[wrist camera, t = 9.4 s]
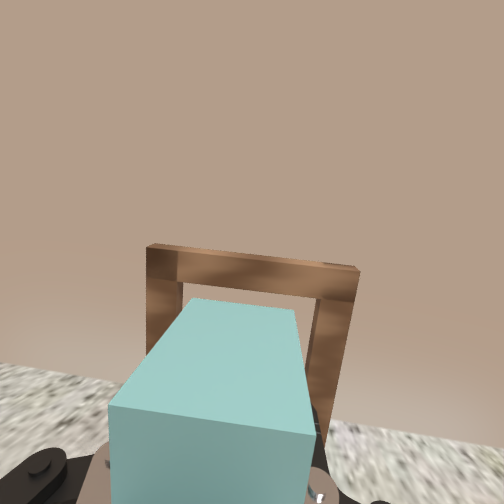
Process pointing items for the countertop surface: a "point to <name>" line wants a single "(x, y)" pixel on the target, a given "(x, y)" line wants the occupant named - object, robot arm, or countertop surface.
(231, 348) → the teal block
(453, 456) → the countertop surface
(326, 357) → the peg shelf
